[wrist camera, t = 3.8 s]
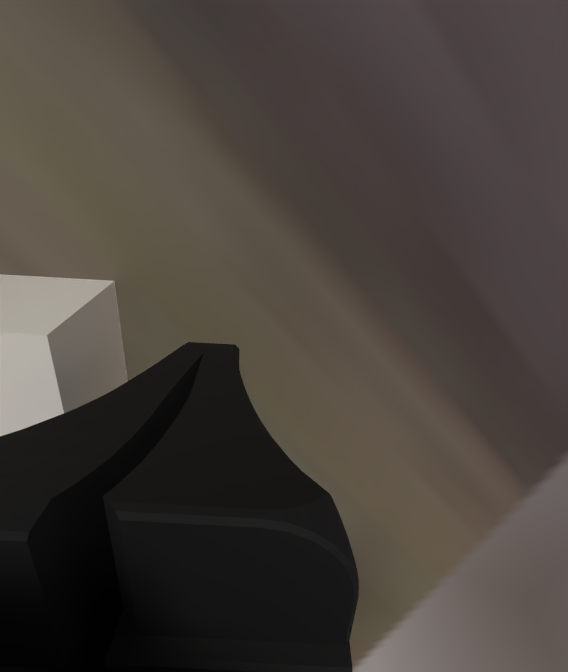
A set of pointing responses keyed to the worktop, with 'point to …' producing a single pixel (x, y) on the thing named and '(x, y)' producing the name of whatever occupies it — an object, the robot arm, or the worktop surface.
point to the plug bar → (56, 347)
